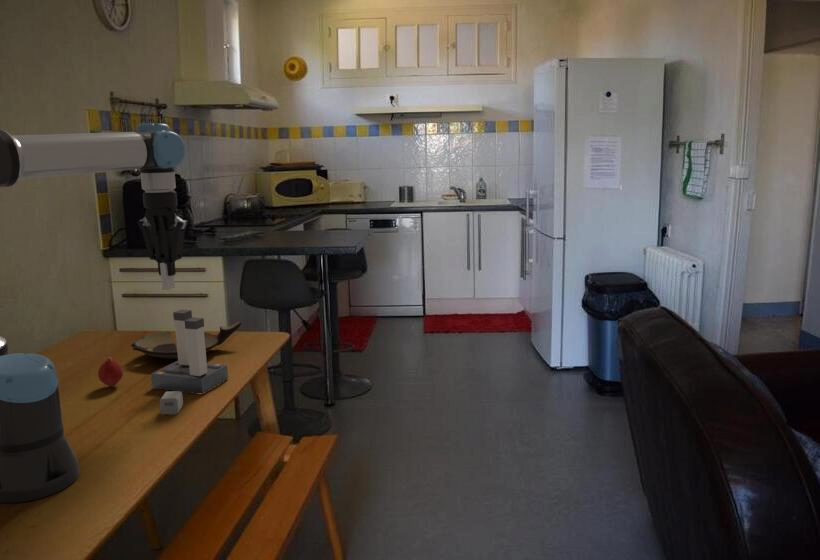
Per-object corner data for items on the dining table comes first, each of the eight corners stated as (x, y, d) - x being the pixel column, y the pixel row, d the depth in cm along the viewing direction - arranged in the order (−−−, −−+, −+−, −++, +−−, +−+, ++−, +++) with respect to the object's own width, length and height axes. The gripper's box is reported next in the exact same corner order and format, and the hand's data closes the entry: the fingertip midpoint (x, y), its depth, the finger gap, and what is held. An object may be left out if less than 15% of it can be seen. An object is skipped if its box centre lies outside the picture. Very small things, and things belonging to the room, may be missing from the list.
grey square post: (200, 376, 166) (195, 321, 163) (189, 375, 167) (184, 320, 164) (208, 372, 169) (203, 318, 166) (197, 370, 170) (192, 317, 167)
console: (202, 394, 166) (201, 379, 165) (152, 388, 171) (150, 373, 170) (228, 379, 176) (226, 364, 175) (180, 374, 181) (178, 359, 180)
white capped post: (188, 365, 174) (183, 313, 171) (177, 364, 175) (173, 312, 172) (195, 361, 177) (191, 310, 174) (185, 360, 178) (181, 309, 175)
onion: (94, 388, 171) (91, 358, 169) (113, 381, 176) (110, 352, 174) (110, 392, 168) (106, 362, 167) (129, 384, 173) (125, 355, 172)
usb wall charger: (161, 415, 154) (159, 398, 153) (168, 403, 161) (167, 387, 160) (178, 414, 154) (177, 397, 154) (185, 402, 161) (184, 386, 160)
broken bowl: (144, 347, 206) (142, 322, 204) (244, 341, 210) (243, 317, 208) (124, 371, 184) (121, 344, 183) (236, 365, 188) (234, 338, 186)
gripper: (192, 189, 159) (200, 286, 164) (147, 189, 163) (156, 284, 168) (172, 192, 152) (181, 293, 157) (125, 191, 157) (135, 290, 161)
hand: (168, 288), depth 163 cm, fingers closed
